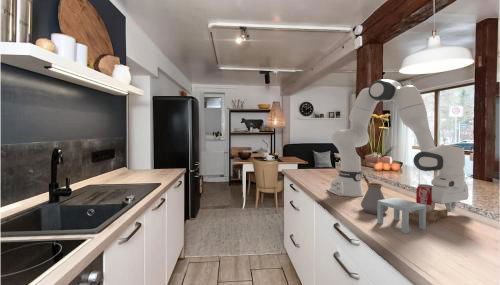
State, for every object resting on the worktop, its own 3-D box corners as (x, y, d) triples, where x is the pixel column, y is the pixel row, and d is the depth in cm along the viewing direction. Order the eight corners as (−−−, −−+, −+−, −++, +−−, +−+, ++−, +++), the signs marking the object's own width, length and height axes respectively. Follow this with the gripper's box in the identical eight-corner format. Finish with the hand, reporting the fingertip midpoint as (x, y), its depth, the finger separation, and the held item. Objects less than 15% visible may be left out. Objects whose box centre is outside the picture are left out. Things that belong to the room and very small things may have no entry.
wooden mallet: (437, 213, 108) (437, 200, 108) (452, 218, 103) (452, 203, 102) (405, 220, 100) (405, 206, 100) (419, 225, 95) (420, 210, 95)
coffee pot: (392, 216, 106) (393, 182, 105) (365, 215, 107) (365, 182, 107) (374, 202, 127) (374, 174, 127) (351, 201, 129) (351, 174, 128)
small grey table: (377, 222, 99) (377, 200, 98) (396, 218, 103) (396, 197, 102) (405, 233, 87) (406, 208, 87) (425, 229, 91) (426, 205, 91)
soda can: (438, 213, 108) (438, 187, 108) (420, 212, 110) (420, 186, 109) (429, 208, 115) (430, 184, 115) (413, 208, 117) (413, 183, 116)
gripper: (457, 177, 113) (456, 206, 114) (428, 181, 105) (428, 212, 106) (473, 179, 107) (472, 210, 108) (444, 183, 100) (444, 216, 100)
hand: (450, 211), depth 107 cm, fingers closed
